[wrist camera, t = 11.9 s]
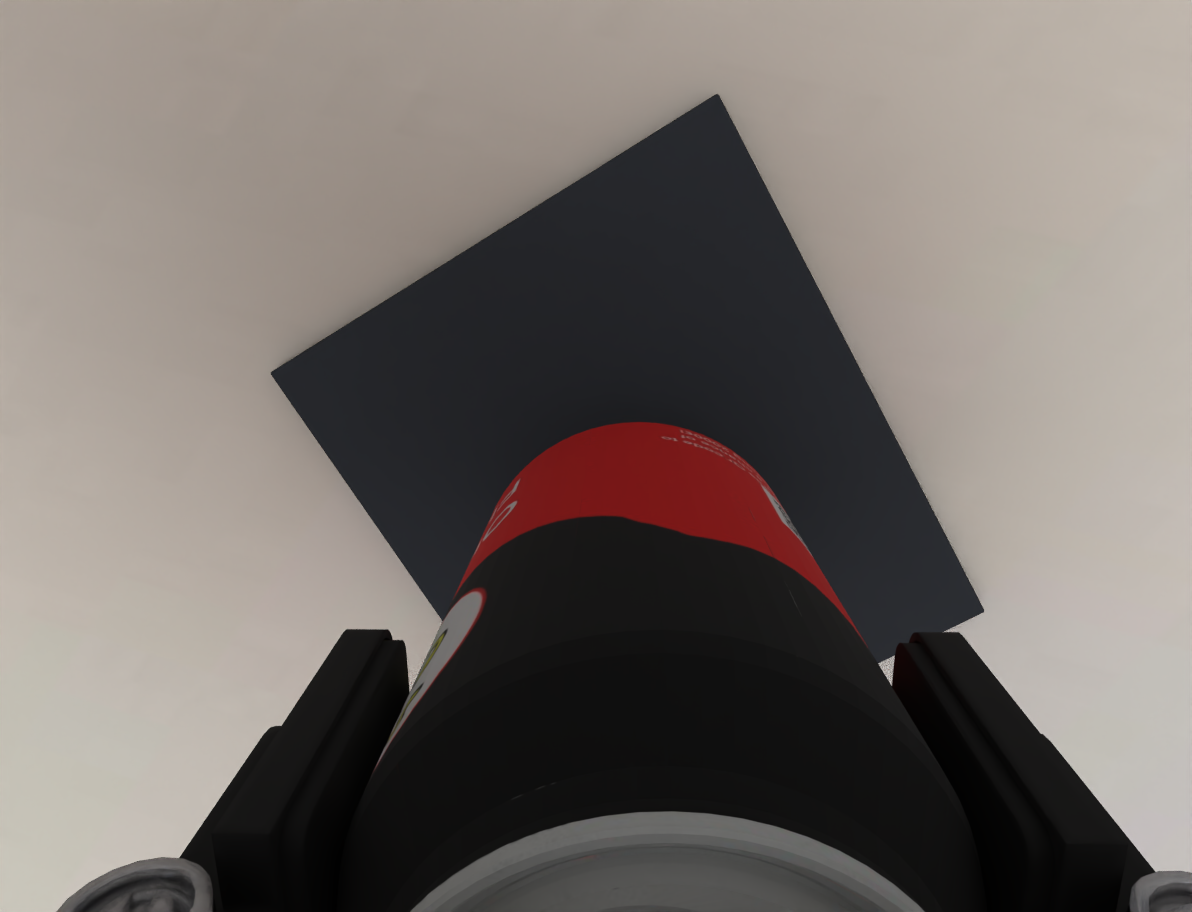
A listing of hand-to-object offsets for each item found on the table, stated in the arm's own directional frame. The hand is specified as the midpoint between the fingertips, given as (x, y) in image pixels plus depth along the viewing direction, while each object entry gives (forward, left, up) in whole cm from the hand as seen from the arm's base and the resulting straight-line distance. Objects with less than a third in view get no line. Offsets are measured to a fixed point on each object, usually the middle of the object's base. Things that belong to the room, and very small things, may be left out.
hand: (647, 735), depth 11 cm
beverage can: (0, 0, -7) cm, 7 cm away
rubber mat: (0, 0, -10) cm, 10 cm away
